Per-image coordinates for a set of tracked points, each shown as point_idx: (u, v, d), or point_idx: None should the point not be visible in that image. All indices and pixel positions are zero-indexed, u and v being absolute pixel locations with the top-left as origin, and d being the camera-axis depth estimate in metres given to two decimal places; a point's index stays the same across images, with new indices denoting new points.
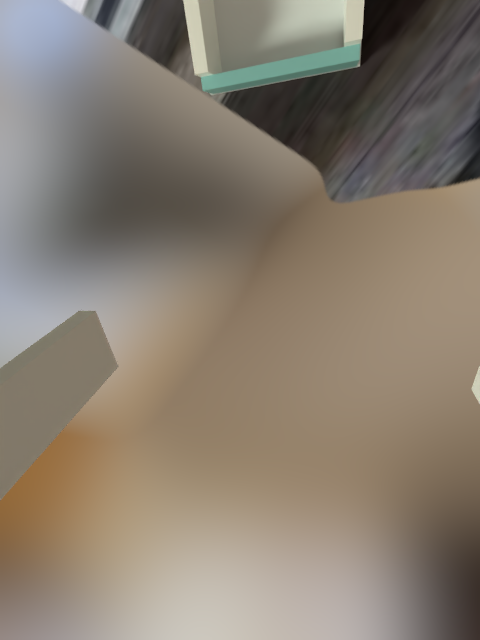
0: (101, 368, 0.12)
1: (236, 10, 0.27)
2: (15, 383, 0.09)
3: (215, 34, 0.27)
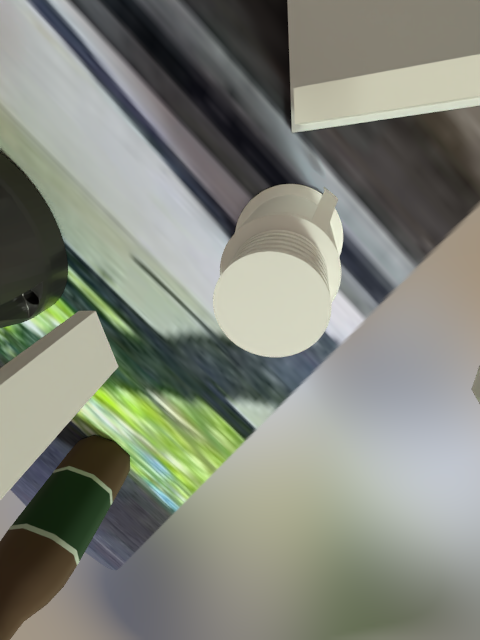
0: (101, 368, 0.12)
1: (466, 11, 0.13)
2: (15, 383, 0.09)
3: None
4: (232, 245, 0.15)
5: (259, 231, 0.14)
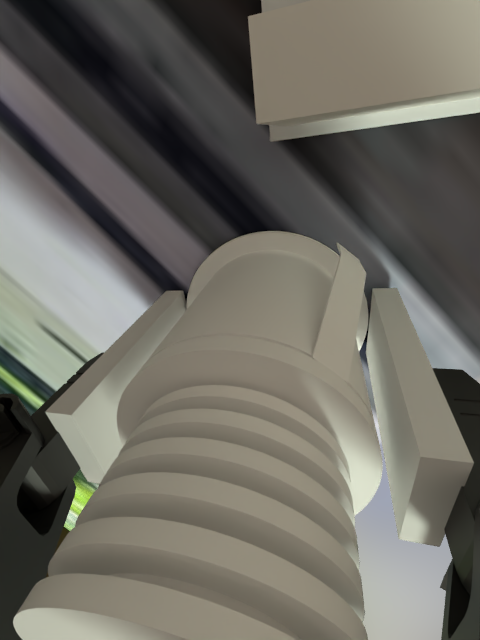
0: None
1: None
2: (137, 351, 0.09)
3: None
4: (134, 396, 0.06)
5: (189, 378, 0.06)
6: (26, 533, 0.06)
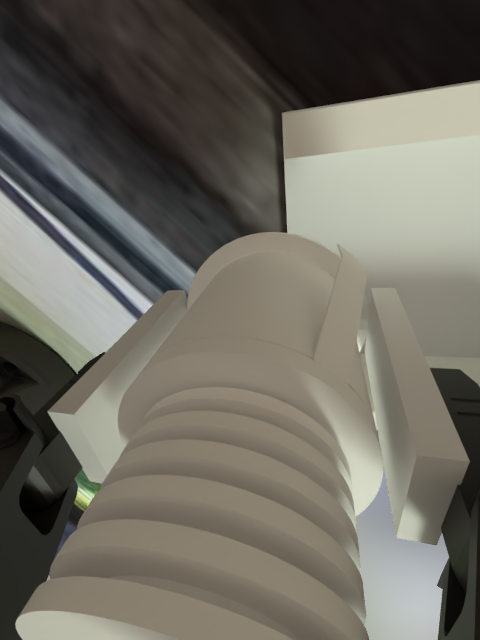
0: None
1: (433, 326, 0.16)
2: (138, 351, 0.09)
3: (459, 365, 0.16)
4: (135, 398, 0.06)
5: (191, 379, 0.06)
6: (28, 533, 0.06)
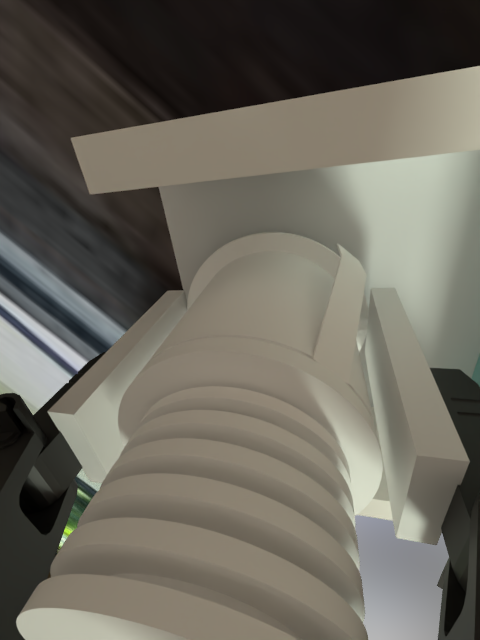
0: None
1: None
2: (138, 351, 0.09)
3: None
4: (135, 397, 0.06)
5: (191, 379, 0.06)
6: (28, 533, 0.06)
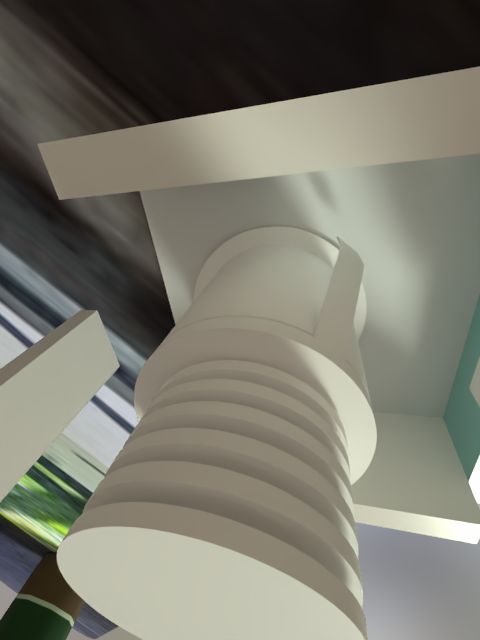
0: (103, 367, 0.12)
1: None
2: (17, 382, 0.09)
3: None
4: (151, 373, 0.07)
5: (203, 355, 0.07)
6: None
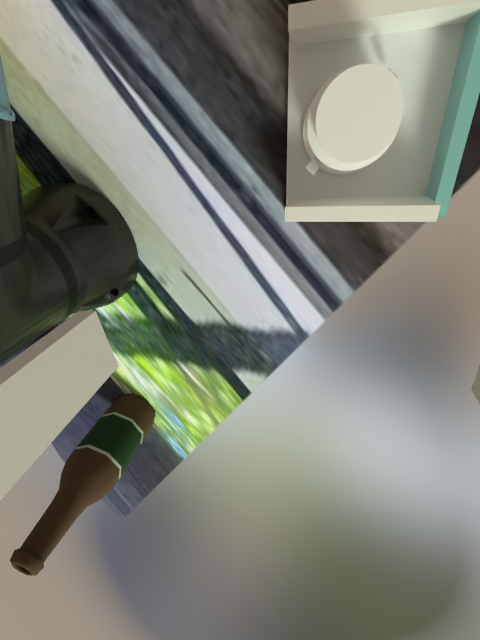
0: (101, 368, 0.12)
1: (373, 171, 0.27)
2: (15, 383, 0.09)
3: (387, 197, 0.27)
4: (322, 92, 0.20)
5: None
6: None
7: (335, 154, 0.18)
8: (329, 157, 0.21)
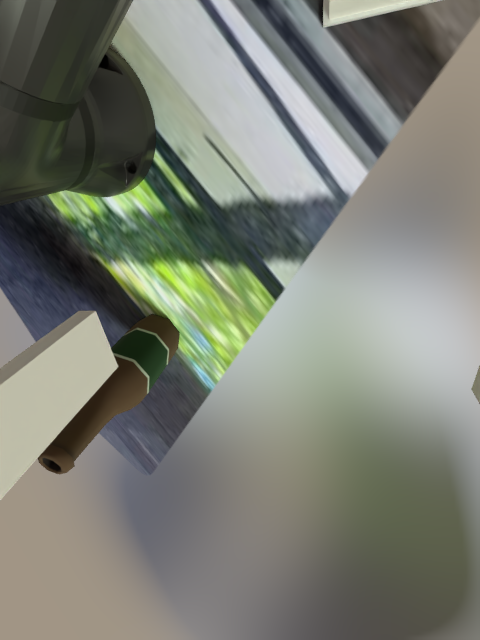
0: (101, 368, 0.12)
1: None
2: (15, 383, 0.09)
3: None
4: None
5: None
6: None
7: None
8: None
